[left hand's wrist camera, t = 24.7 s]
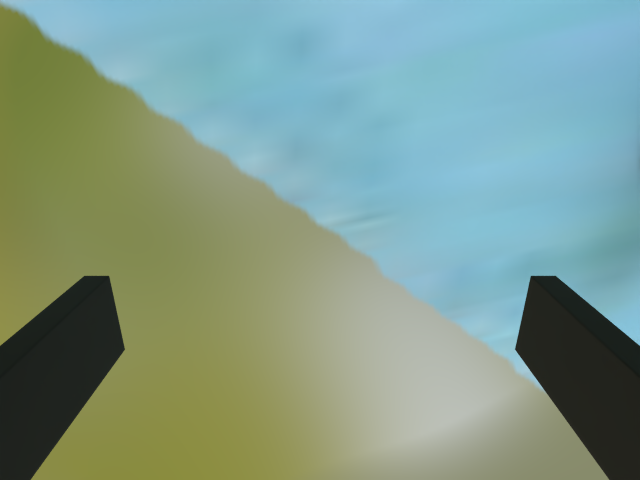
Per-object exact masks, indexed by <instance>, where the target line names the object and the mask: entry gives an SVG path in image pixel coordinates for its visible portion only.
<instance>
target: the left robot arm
mask: <svg viewBox="0 0 640 480" xmlns="http://www.w3.org/2000/svg"><path fill="white" fill-rule="evenodd" d="M124 350H125V348H124V344H123V339H122V334H121V329H120V325H119V320H118V315H117V311H116V306H115V302H114V297H113V292H112V287H111V283H110V278H109V276H84V277H83V278H81V279H80V280H79V281H78V282H77V283H75V284H74V285H73V286H72V287H71V288H69V289H68V290H67V291H66V292H65V293H63V294H62V295H61V296H60V297H59V298H57V299H56V300H55V301H54V302H53V303H51V304H50V305H49V306H48V307H47V308H45V309H44V310H43V311H42V312H41V313H39V314H38V315H37V316H36V317H35V318H33V319H32V320H31V321H30V322H29V323H27V324H26V325H25V326H24V327H23V328H21V329H20V330H19V331H18V332H16V333H15V334H14V335H13V336H12V337H10V338H9V339H8V340H7V341H6V342H4V343H3V344H2V345H1V346H0V480H31V478H32V477H33V476H34V474H35V473H36V471H37V470H38V469H39V467H40V466H41V464H42V463H43V462H44V460H45V459H46V458H47V456H48V455H49V454H50V452H51V451H52V449H53V448H54V447H55V445H56V444H57V442H58V441H59V440H60V438H61V437H62V436H63V434H64V433H65V431H66V430H67V429H68V427H69V426H70V425H71V423H72V422H73V420H74V419H75V418H76V416H77V415H78V413H79V412H80V411H81V409H82V408H83V407H84V405H85V404H86V402H87V401H88V400H89V398H90V397H91V396H92V394H93V393H94V391H95V390H96V389H97V387H98V386H99V384H100V383H101V382H102V380H103V379H104V378H105V376H106V375H107V373H108V372H109V371H110V369H111V368H112V366H113V365H114V364H115V362H116V361H117V360H118V358H119V357H120V355H121V354H122V353H123V351H124ZM515 350H516V351H517V353H518V354H519V355H520V357H521V358H522V360H523V361H524V362H525V364H526V365H527V367H528V368H529V369H530V371H531V372H532V373H533V375H534V376H535V378H536V379H537V380H538V382H539V383H540V384H541V386H542V387H543V389H544V390H545V391H546V393H547V394H548V396H549V397H550V398H551V400H552V401H553V402H554V404H555V405H556V407H557V408H558V409H559V411H560V412H561V413H562V415H563V416H564V418H565V419H566V420H567V422H568V423H569V424H570V426H571V427H572V429H573V430H574V431H575V433H576V434H577V436H578V437H579V438H580V440H581V441H582V442H583V444H584V445H585V447H586V448H587V449H588V451H589V452H590V454H591V455H592V456H593V458H594V459H595V460H596V462H597V463H598V465H599V466H600V467H601V469H602V470H603V471H604V473H605V474H606V476H607V477H608V478H609V480H640V346H639V345H638V344H637V343H636V342H634V341H633V340H632V339H631V338H630V337H628V336H627V335H626V334H625V333H624V332H622V331H621V330H620V329H619V328H618V327H616V326H615V325H614V324H613V323H612V322H610V321H609V320H608V319H607V318H605V317H604V316H603V315H602V314H601V313H599V312H598V311H597V310H596V309H595V308H593V307H592V306H591V305H590V304H589V303H587V302H586V301H585V300H584V299H583V298H581V297H580V296H579V295H578V294H577V293H575V292H574V291H573V290H572V289H571V288H569V287H568V286H567V285H566V284H565V283H563V282H562V281H561V280H560V279H559V278H557V277H556V276H531V278H530V283H529V287H528V292H527V297H526V301H525V306H524V311H523V315H522V320H521V325H520V329H519V334H518V339H517V343H516V348H515Z"/></svg>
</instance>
